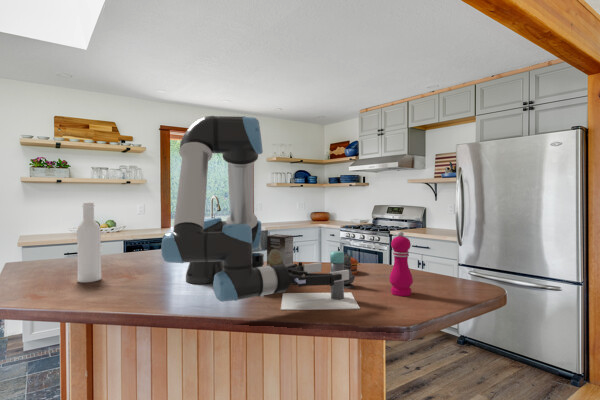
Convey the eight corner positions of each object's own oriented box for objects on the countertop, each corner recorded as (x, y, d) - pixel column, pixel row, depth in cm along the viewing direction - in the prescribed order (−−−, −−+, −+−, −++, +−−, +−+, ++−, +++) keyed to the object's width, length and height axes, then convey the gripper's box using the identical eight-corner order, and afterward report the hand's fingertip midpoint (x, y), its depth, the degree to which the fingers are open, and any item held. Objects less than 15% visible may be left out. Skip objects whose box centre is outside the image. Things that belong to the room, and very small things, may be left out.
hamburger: (330, 272, 148) (330, 256, 148) (349, 269, 152) (349, 254, 152) (342, 276, 140) (342, 259, 140) (363, 274, 144) (362, 257, 144)
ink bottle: (259, 294, 115) (258, 257, 114) (235, 292, 118) (234, 256, 118) (271, 287, 124) (271, 252, 124) (249, 285, 127) (248, 251, 127)
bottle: (79, 283, 131) (78, 202, 131) (75, 280, 137) (74, 202, 137) (103, 280, 136) (102, 202, 136) (98, 276, 142) (97, 201, 142)
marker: (331, 300, 107) (330, 253, 107) (329, 296, 111) (329, 251, 111) (345, 299, 107) (344, 253, 107) (343, 295, 111) (343, 251, 111)
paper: (280, 310, 99) (280, 308, 99) (282, 294, 115) (282, 293, 115) (359, 309, 99) (359, 307, 99) (350, 293, 115) (350, 292, 115)
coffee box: (266, 275, 142) (265, 235, 141) (275, 272, 147) (275, 234, 147) (285, 278, 137) (284, 236, 136) (294, 275, 142) (293, 235, 142)
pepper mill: (400, 298, 109) (400, 233, 109) (384, 292, 116) (384, 231, 116) (417, 294, 113) (417, 231, 113) (401, 289, 119) (401, 229, 119)
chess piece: (355, 288, 121) (354, 253, 121) (337, 288, 122) (337, 253, 122) (355, 284, 126) (355, 250, 126) (339, 283, 128) (338, 250, 127)
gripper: (252, 284, 108) (311, 275, 119) (295, 305, 87) (361, 292, 98) (252, 259, 108) (311, 252, 119) (294, 274, 87) (361, 264, 98)
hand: (333, 270), depth 108 cm, fingers open, 13 cm apart
